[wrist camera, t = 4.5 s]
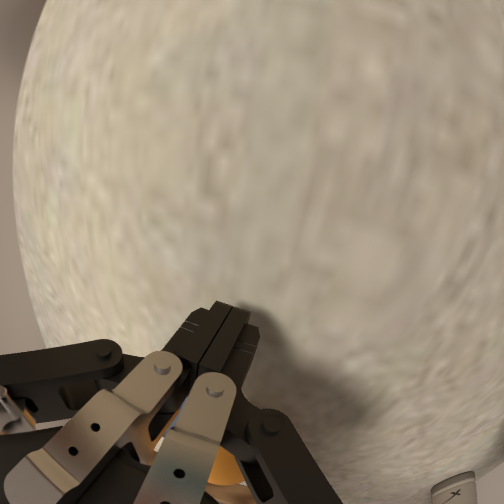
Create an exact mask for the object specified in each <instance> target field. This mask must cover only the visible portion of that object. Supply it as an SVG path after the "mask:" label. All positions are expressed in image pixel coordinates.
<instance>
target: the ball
mask: <svg viewBox="0 0 504 504" xmlns="http://www.w3.org/2000/svg"><path fill="white" fill-rule="evenodd" d="M243 481H245V479H244V477H243V475H242V473H241V471H240V469H239V467H238V464H237V462H236V460H235V457H234V455H232V454H231V453H230V452H228V451H227V450H225V449H224V448H223V447H221V446H219V449H218V452H217V455H216V458H215V461H214V464H213V467H212V470H211V473H210V476H209V479H208V482H209V483H212V484H216V485H234V484H238V483H241V482H243Z"/></svg>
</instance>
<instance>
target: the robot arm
mask: <svg viewBox="0 0 504 504" xmlns="http://www.w3.org/2000/svg"><path fill="white" fill-rule="evenodd" d="M249 317H250V312H249V311H246V310H243V309H240V308H237V307H233V306H231V305H228V304H225V303H222V302H219V301H216V302H215V303H214V304H213V306H212V307H211V309H210V310H207V309H204V308H199V309H197V310H195V311H193V312H192V313H191V314H190V315H189V316H188V318H187V319H186V320H185V322H184V323H183V324H182V325H181V327H180V328H179V329H178V330H177V332H176V333H175V334H174V335H173V337H172V338H171V339H170V340H169V342H168V343H167V344H166V345H165V347H164V348H163V349H162V350H161V351H155V352H152V353H150V354H148V355H147V356H146V357H137V356H132V355H127V354H122V349H121V347H120V346H119V345H118V344H117V343H116V342H114V341H112V340H109V339H99V340H94V341H89V342H84V343H78V344H72V345H67V346H61V347H55V348H48V349H42V350H36V351H28V352H21V353H14V354H6V355H0V504H219V503H218V502H217V501H216V500H215V499H214V498H213V497H212V496H211V495H210V494H208V493H207V492H206V491H205V488H206V485H207V482H208V479H209V476H210V473H211V470H212V467H213V464H214V461H215V458H216V455H217V452H218V449H219V446H221V447H223V448H224V449H225V450H227V451H228V452H230V453H231V454H232V455H234V457H235V460H236V462H237V464H238V467H239V469H240V471H241V473H242V475H243V477H244V479H245V481H246V483H247V485H248V487H249V489H250V491H251V493H252V495H253V497H254V499H255V501H256V503H257V504H343V503H342V501H341V500H340V499H339V497H338V496H337V494H336V493H335V491H334V490H333V488H332V487H331V485H330V484H329V482H328V481H327V479H326V477H325V476H324V474H323V473H322V471H321V470H320V468H319V467H318V465H317V463H316V462H315V460H314V459H313V457H312V455H311V454H310V452H309V451H308V449H307V447H306V446H305V444H304V443H303V441H302V439H301V438H300V436H299V434H298V433H297V431H296V429H295V428H294V426H293V424H292V423H291V421H290V419H289V418H288V417H287V416H286V415H285V414H283V413H282V412H280V411H278V410H274V409H262V410H260V409H258V408H257V407H255V406H254V405H252V404H251V403H250V402H248V401H247V400H246V398H245V397H244V395H243V393H242V390H241V388H242V385H243V383H244V380H245V378H246V375H247V373H248V370H249V368H250V365H251V363H252V360H253V357H254V354H255V351H256V348H257V344H258V341H259V338H260V335H259V330H258V327H255V326H252V325H249V324H248V321H249ZM186 397H188V398H187V400H186V402H185V404H184V407H183V409H182V411H181V413H180V415H179V417H178V420H177V422H176V424H175V425H174V427H171V428H170V429H169V431H168V432H167V434H166V436H165V438H164V440H163V442H162V444H161V446H160V448H159V451H158V453H157V455H156V457H155V459H154V461H153V463H152V465H151V466H149V465H146V464H147V463H148V461H149V460H150V458H151V456H152V454H153V452H154V448H155V446H156V444H157V443H158V441H159V440H160V439H161V437H162V436H163V435H164V433H165V432H166V430H167V429H168V428H169V426H170V425H171V423H172V422H173V421H174V419H175V418H176V416H177V415H178V414H179V412H180V410H181V406H182V404H183V402H184V401H185V399H186ZM69 418H71V419H70V420H69V421H68V422H67V423H66V424H65V425H64V426H59V427H54V428H48V429H42V430H36V431H35V429H36V428H35V424H36V423H43V422H50V421H57V420H62V419H69Z"/></svg>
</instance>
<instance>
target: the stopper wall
mask: <svg viewBox="0 0 504 504" xmlns="http://www.w3.org/2000/svg"><path fill="white" fill-rule="evenodd" d="M156 455H157V452H155V451H154V452H153V454H152V456H151V458H150V460H149V461H148V463H147V464H146V465H149V466H151V465H152V463H153V461H154V459H155V457H156ZM205 491H206V492H207V493H208V494H210V495H211V496H212V497H213V498H214V499H215V500H216V501H219V502H222V503H225V504H257V503H256V501H255V499H254V497H253V495H252V493H251V491H250V489H249V487H246V486H243V485H239V484H234V485H216V484H212V483H209V482H207V485H206V488H205Z"/></svg>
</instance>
